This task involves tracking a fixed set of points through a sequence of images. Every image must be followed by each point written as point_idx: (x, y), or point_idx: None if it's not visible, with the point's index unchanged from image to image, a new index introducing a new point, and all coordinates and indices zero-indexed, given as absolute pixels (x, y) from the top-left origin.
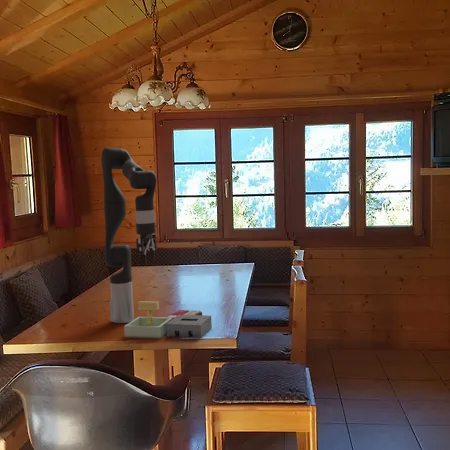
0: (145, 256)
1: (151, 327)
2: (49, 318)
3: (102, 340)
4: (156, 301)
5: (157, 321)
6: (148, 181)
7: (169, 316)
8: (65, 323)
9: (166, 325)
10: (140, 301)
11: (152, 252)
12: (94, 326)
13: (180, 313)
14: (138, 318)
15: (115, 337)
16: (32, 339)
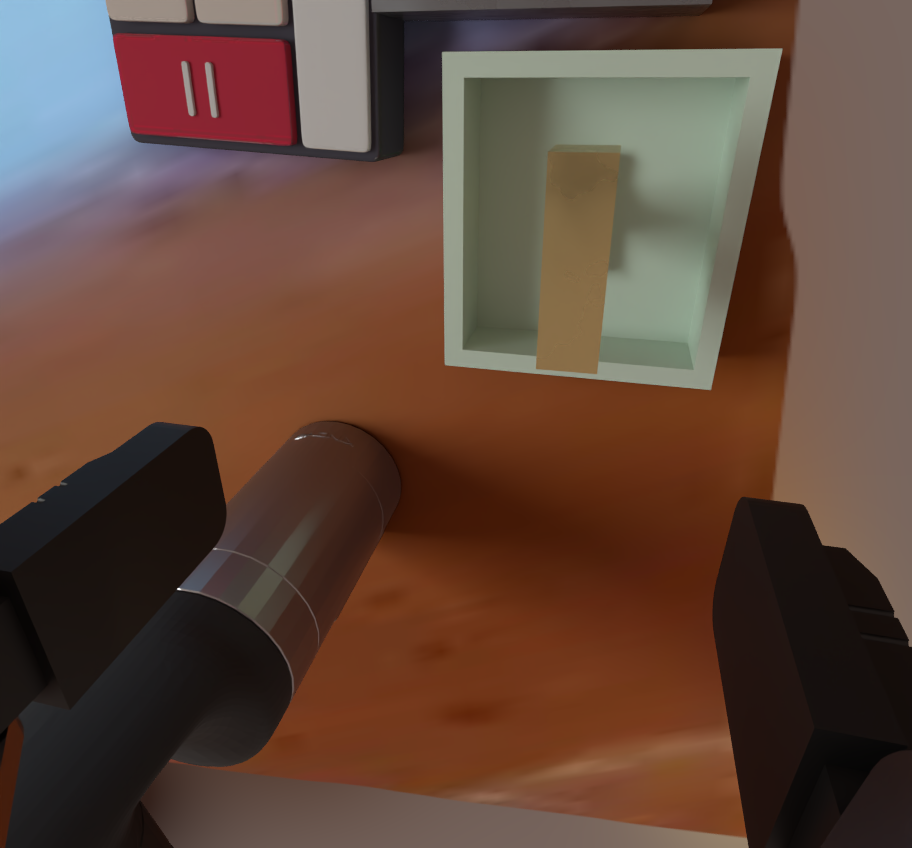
0: (843, 675)
1: (762, 143)
2: (372, 782)
3: (770, 472)
4: (555, 180)
5: (469, 198)
6: None
7: (348, 133)
8: (438, 715)
9: (709, 5)
10: (558, 360)
11: (47, 588)
12: (473, 587)
13: (238, 68)
14: (491, 352)
15: (704, 415)
16: (717, 778)
